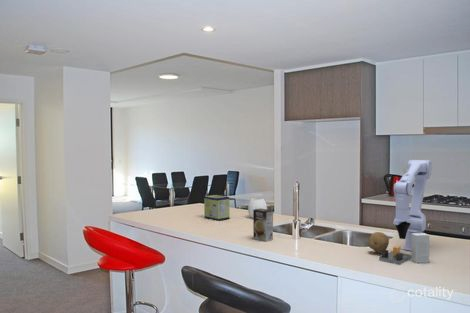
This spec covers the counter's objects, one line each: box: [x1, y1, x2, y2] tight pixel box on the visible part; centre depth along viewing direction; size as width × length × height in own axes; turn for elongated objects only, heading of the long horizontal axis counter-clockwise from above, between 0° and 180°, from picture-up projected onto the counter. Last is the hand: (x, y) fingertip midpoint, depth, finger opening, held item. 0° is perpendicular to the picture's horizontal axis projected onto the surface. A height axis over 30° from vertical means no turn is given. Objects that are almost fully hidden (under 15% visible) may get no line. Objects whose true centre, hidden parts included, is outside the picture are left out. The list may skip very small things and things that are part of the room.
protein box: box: [203, 194, 231, 222], centre depth 279 cm, size 10×16×16 cm
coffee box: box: [252, 208, 274, 243], centre depth 217 cm, size 9×6×16 cm
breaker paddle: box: [392, 245, 401, 256], centre depth 178 cm, size 3×2×4 cm, turn 135°
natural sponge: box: [367, 231, 390, 255], centre depth 188 cm, size 9×9×10 cm
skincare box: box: [411, 232, 430, 264], centre depth 174 cm, size 6×4×12 cm
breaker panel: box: [378, 249, 412, 265], centre depth 178 cm, size 13×9×4 cm
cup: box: [247, 197, 268, 219], centre depth 280 cm, size 13×13×14 cm
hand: (402, 238), depth 182 cm, fingers closed
